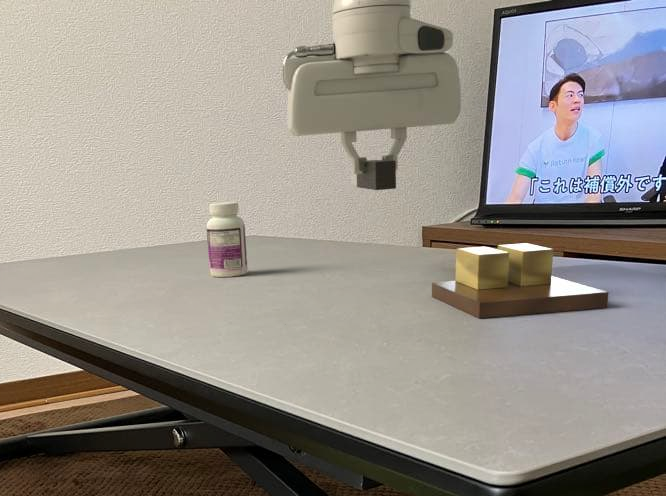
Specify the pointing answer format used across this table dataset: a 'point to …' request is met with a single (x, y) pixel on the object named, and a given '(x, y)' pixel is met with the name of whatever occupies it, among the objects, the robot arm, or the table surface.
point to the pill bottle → (226, 241)
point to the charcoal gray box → (376, 175)
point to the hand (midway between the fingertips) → (374, 172)
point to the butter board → (513, 283)
